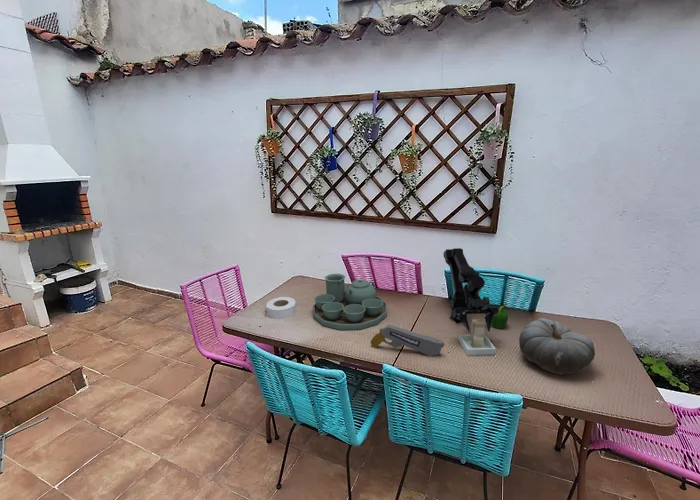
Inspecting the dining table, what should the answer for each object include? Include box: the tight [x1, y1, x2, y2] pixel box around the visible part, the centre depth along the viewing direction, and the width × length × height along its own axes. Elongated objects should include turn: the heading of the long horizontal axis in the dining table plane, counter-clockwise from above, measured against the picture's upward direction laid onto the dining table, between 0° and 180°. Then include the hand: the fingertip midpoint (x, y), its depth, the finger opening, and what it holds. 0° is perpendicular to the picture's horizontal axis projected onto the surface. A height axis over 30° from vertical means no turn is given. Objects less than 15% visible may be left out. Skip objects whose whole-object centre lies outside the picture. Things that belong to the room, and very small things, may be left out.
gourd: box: [518, 317, 596, 375], centre depth 134 cm, size 25×25×17 cm
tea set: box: [312, 273, 388, 331], centre depth 181 cm, size 40×40×16 cm
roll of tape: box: [266, 296, 297, 320], centre depth 185 cm, size 16×16×6 cm
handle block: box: [470, 318, 486, 348], centre depth 146 cm, size 4×4×12 cm
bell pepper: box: [491, 305, 509, 329], centre depth 163 cm, size 8×8×10 cm
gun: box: [370, 324, 445, 357], centre depth 146 cm, size 4×28×17 cm, turn 74°
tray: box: [458, 333, 497, 357], centre depth 147 cm, size 12×12×3 cm
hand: (479, 331), depth 144 cm, fingers open, 8 cm apart
